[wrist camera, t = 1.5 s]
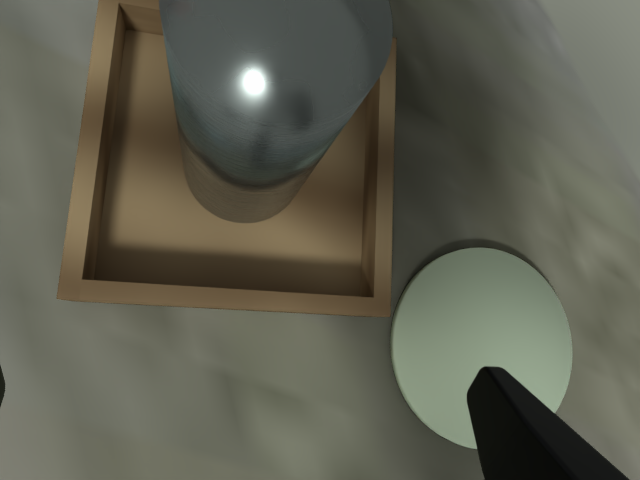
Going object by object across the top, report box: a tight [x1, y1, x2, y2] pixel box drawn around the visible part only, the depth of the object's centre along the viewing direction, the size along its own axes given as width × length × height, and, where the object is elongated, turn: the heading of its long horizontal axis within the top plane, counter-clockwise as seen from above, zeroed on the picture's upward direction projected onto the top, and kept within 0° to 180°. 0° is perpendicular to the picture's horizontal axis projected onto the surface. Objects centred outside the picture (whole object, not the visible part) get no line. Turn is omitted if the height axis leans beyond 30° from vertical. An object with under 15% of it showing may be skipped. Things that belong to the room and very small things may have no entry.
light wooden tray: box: [57, 0, 397, 317], centre depth 22 cm, size 14×14×2 cm
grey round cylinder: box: [159, 0, 393, 223], centre depth 17 cm, size 6×6×12 cm
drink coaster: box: [390, 248, 572, 449], centre depth 25 cm, size 10×10×1 cm
